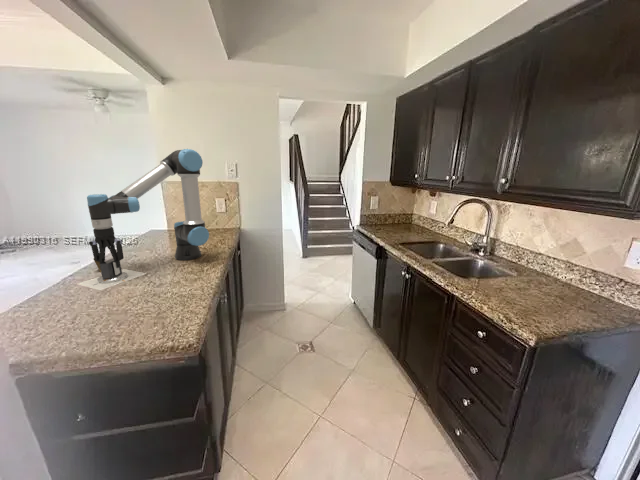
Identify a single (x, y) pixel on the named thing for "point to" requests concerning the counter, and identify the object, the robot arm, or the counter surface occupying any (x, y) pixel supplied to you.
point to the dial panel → (100, 286)
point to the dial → (110, 273)
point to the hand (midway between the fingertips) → (112, 274)
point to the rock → (98, 265)
